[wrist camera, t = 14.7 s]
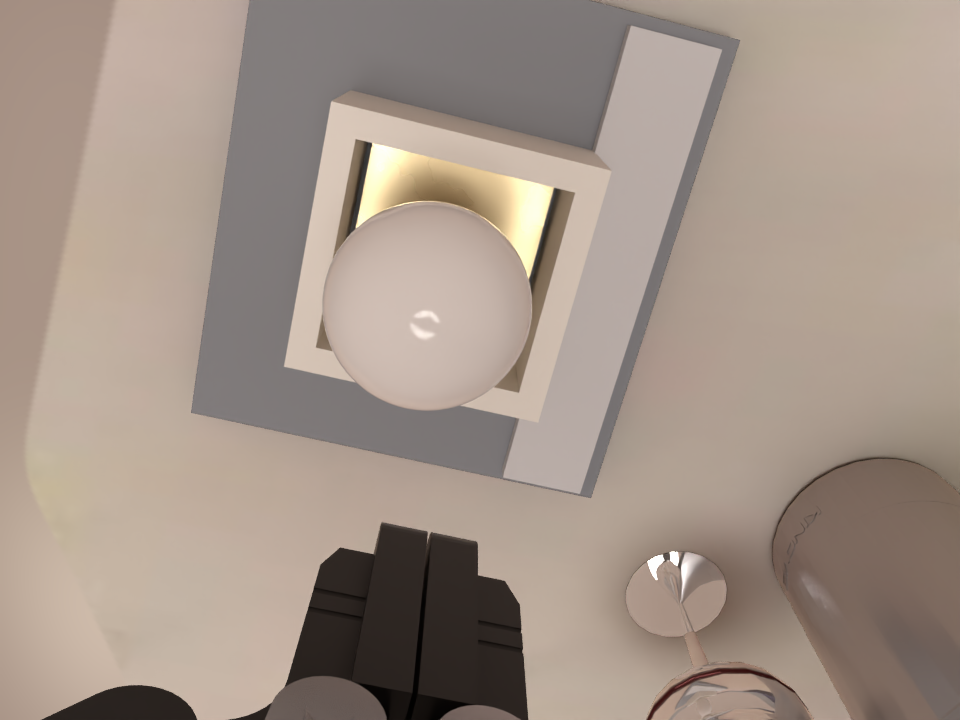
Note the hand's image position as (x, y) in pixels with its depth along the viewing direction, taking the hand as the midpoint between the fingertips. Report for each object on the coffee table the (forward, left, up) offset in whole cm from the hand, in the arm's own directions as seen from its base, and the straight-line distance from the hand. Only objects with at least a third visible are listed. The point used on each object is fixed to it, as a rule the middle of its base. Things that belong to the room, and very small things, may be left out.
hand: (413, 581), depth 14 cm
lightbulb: (0, 0, -23) cm, 23 cm away
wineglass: (-15, +15, -26) cm, 33 cm away
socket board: (0, 0, -25) cm, 25 cm away
